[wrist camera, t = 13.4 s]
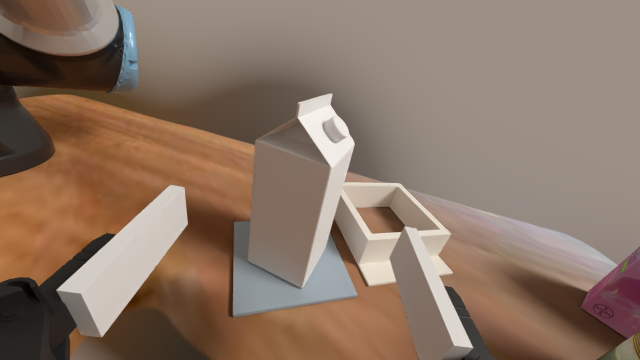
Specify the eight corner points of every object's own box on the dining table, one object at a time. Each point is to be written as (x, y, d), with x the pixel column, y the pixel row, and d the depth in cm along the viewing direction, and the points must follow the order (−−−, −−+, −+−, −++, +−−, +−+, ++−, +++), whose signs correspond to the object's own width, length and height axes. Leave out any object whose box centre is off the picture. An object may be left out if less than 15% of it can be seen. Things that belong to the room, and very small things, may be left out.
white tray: (322, 194, 44) (327, 172, 41) (383, 194, 48) (390, 174, 46) (368, 286, 28) (380, 260, 26) (452, 274, 33) (468, 250, 31)
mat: (233, 224, 33) (233, 221, 33) (323, 220, 37) (323, 218, 37) (232, 317, 22) (232, 315, 22) (356, 297, 27) (357, 294, 27)
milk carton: (246, 262, 28) (257, 90, 18) (278, 227, 34) (299, 84, 24) (302, 290, 26) (345, 116, 17) (325, 248, 32) (366, 103, 23)
